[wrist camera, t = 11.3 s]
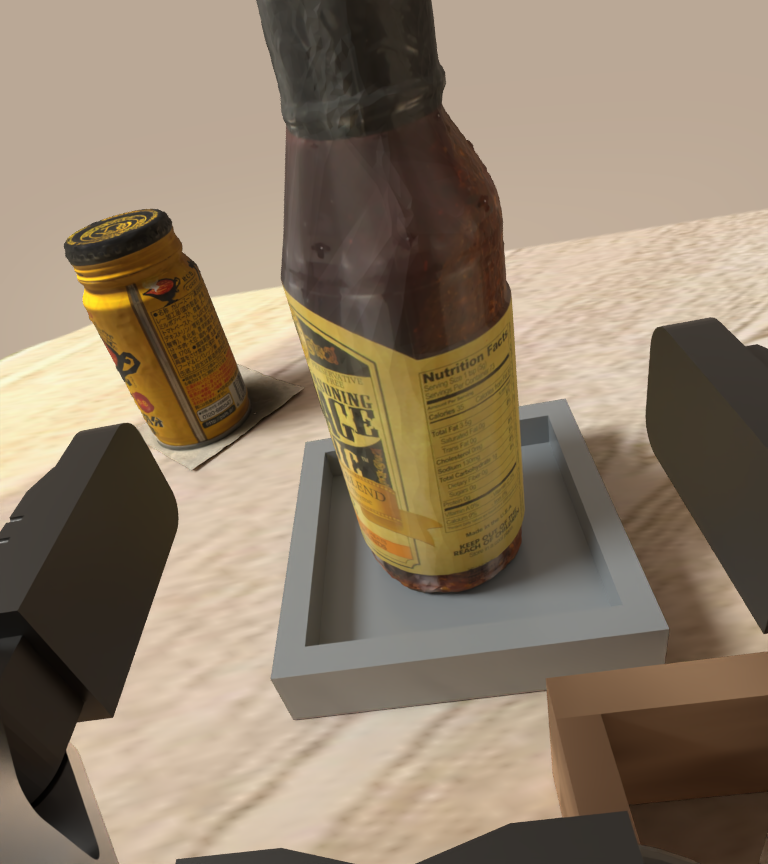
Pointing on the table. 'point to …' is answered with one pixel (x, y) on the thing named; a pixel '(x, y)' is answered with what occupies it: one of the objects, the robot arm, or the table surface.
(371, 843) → the table surface
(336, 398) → the sauce bottle
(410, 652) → the tray
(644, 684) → the holder
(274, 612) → the table surface
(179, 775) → the table surface
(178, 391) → the condiment
